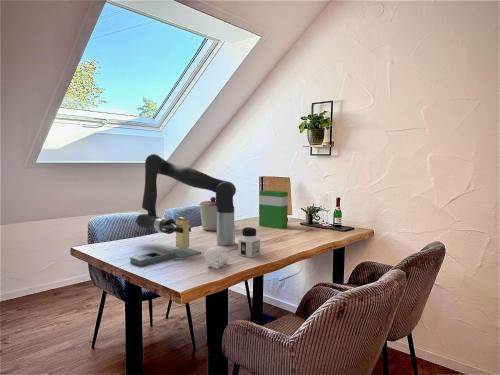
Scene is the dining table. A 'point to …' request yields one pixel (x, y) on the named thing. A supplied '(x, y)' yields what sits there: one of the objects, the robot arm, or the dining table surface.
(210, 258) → the white humped figurine
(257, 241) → the container
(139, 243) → the dining table surface
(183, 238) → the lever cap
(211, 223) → the canister
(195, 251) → the mat
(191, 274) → the dining table surface
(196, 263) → the dining table surface
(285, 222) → the green cereal box
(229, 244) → the robot arm
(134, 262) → the plane body
